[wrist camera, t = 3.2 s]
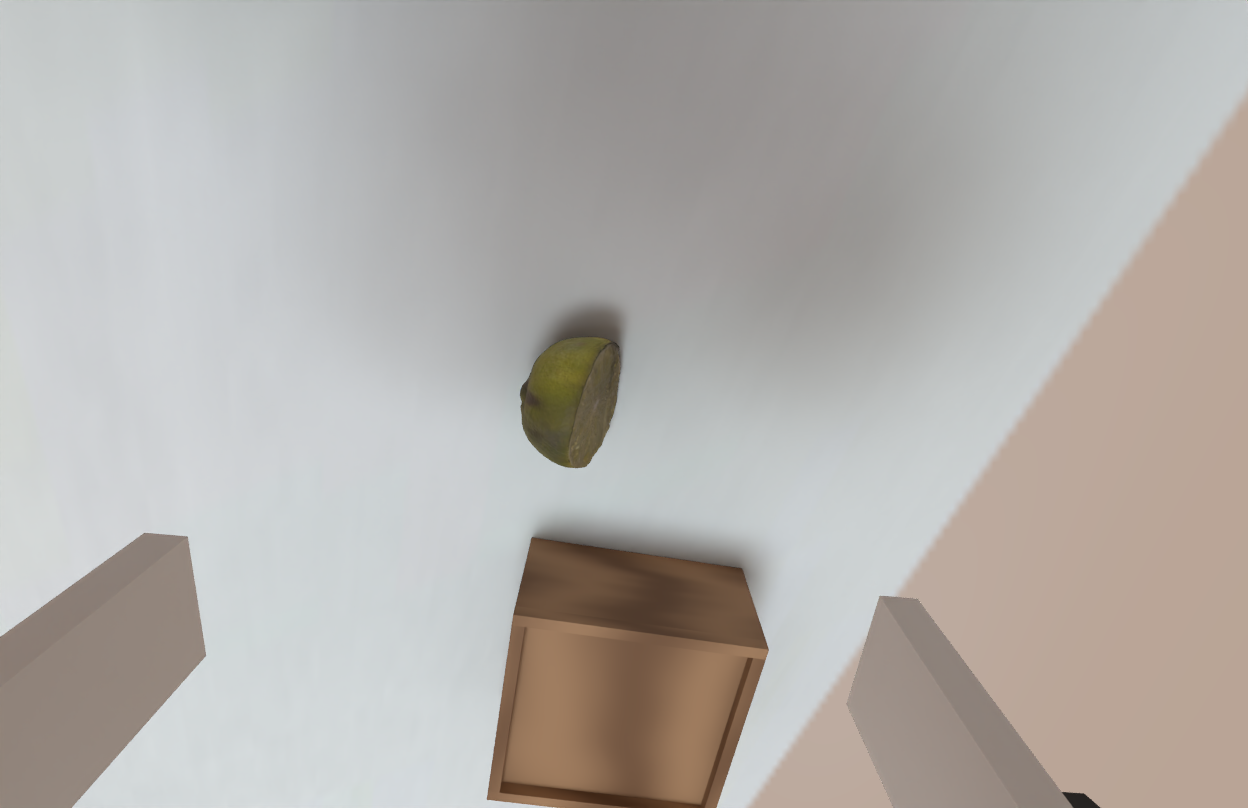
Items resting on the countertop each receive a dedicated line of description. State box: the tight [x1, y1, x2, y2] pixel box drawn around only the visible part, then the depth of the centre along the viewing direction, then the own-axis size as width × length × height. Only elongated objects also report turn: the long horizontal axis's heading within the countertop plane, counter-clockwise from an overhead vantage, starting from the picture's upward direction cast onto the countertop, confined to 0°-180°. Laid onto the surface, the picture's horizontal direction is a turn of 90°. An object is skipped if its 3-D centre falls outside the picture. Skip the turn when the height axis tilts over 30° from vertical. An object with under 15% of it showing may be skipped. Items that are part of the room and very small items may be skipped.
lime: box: [520, 337, 620, 468], centre depth 22 cm, size 4×5×5 cm
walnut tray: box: [487, 538, 769, 808], centre depth 27 cm, size 10×10×6 cm
